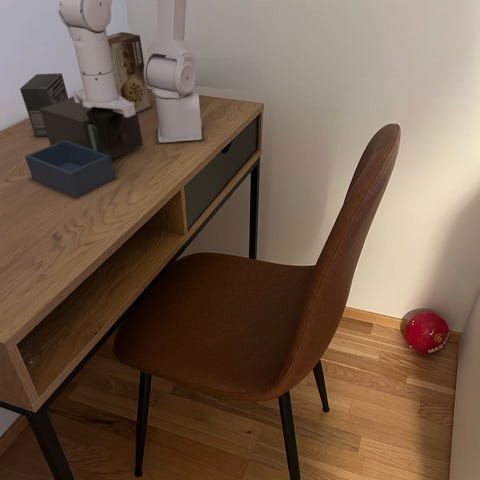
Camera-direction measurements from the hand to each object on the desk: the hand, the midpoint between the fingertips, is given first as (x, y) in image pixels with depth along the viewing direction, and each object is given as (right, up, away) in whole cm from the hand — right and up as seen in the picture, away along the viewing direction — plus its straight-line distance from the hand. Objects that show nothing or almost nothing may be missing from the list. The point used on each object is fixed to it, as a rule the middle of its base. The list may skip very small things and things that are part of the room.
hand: (112, 147), depth 92 cm
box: (-7, -7, -1) cm, 10 cm away
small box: (-19, +11, +19) cm, 29 cm away
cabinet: (-7, +4, +10) cm, 13 cm away
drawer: (-4, +3, +8) cm, 9 cm away
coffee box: (-3, +19, +27) cm, 33 cm away
